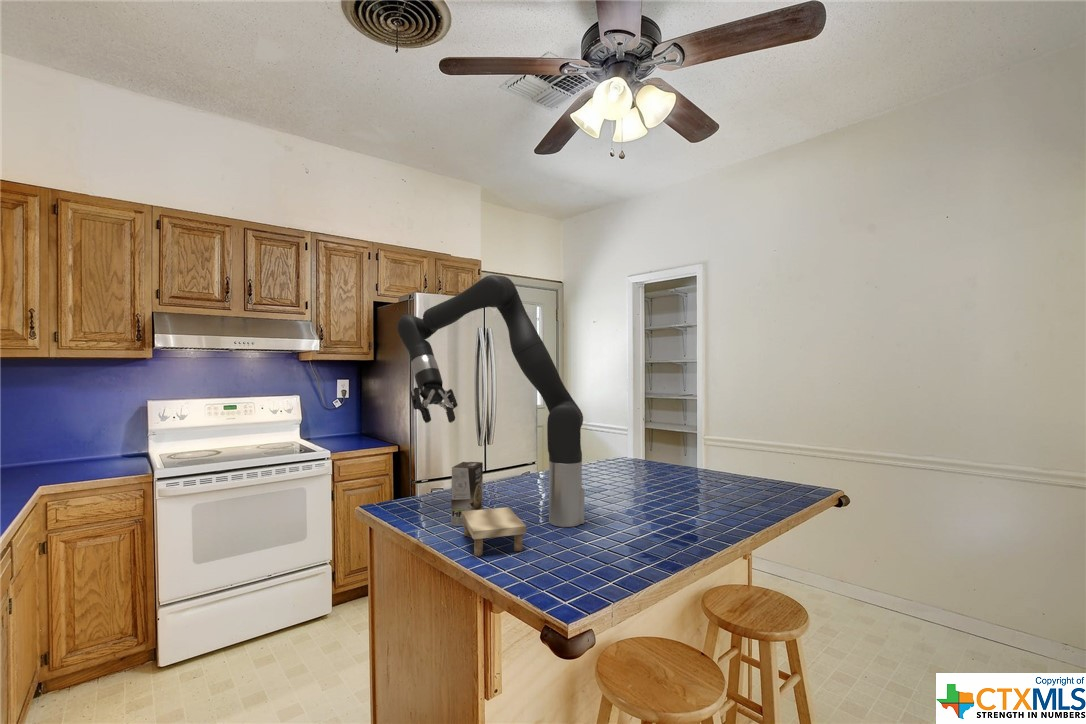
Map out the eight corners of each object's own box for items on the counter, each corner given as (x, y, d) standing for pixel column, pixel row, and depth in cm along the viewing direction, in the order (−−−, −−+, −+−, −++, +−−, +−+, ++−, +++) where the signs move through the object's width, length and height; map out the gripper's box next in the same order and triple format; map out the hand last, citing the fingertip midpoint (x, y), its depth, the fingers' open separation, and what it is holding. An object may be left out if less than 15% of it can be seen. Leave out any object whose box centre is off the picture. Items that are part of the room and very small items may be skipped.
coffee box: (472, 527, 136) (473, 468, 136) (450, 526, 137) (450, 467, 137) (483, 517, 145) (483, 461, 145) (462, 516, 146) (462, 460, 146)
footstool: (508, 529, 134) (508, 507, 134) (526, 551, 118) (526, 526, 119) (461, 534, 130) (461, 511, 130) (473, 557, 115) (473, 531, 115)
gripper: (413, 365, 145) (427, 416, 138) (452, 368, 155) (467, 415, 149) (399, 377, 149) (412, 427, 142) (438, 380, 159) (452, 426, 153)
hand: (440, 421), depth 146 cm, fingers open, 8 cm apart
